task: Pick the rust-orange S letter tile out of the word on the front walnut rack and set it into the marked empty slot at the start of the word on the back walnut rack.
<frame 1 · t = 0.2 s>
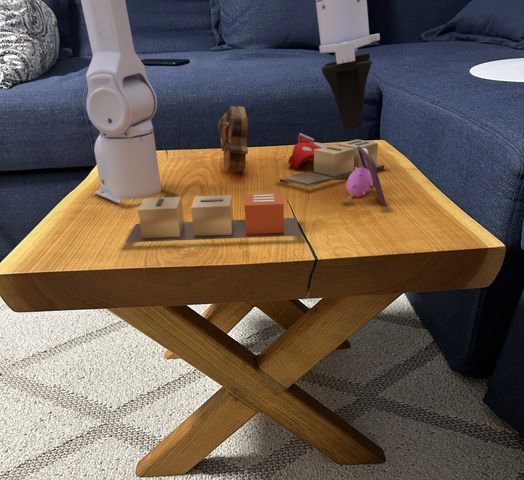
hand: (352, 122, 70), 10 cm above the table, tool pointing down, fingers open, 7 cm apart
wooden carving: (234, 172, 93), on the table
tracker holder: (315, 163, 96), on the table
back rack: (333, 176, 88), on the table
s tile: (264, 227, 66), point 1 cm above the table, touching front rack
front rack: (214, 235, 67), on the table
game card: (362, 203, 76), on the table
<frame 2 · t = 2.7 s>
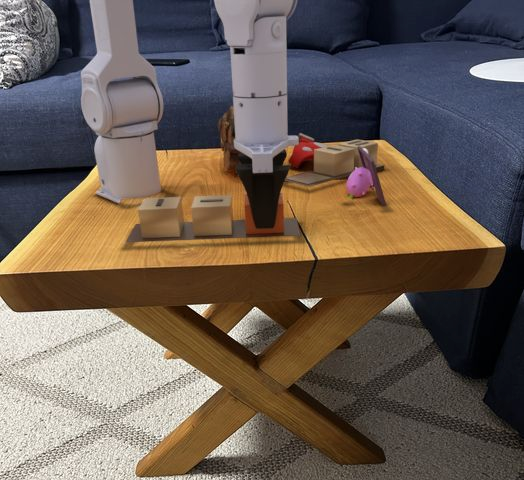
hand: (264, 220, 66), 2 cm above the table, tool pointing down, fingers closed on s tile, 4 cm apart
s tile: (264, 227, 66), point 1 cm above the table, touching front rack, gripper
everything else where it was.
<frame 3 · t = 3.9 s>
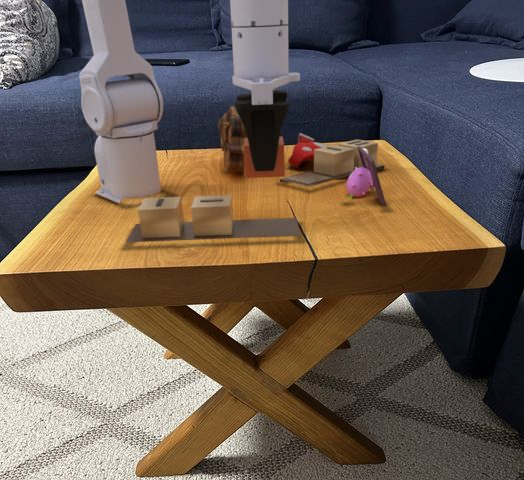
hand: (264, 165, 63), 8 cm above the table, tool pointing down, fingers closed on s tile, 4 cm apart
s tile: (264, 172, 64), point 7 cm above the table, touching gripper
everything else where it was.
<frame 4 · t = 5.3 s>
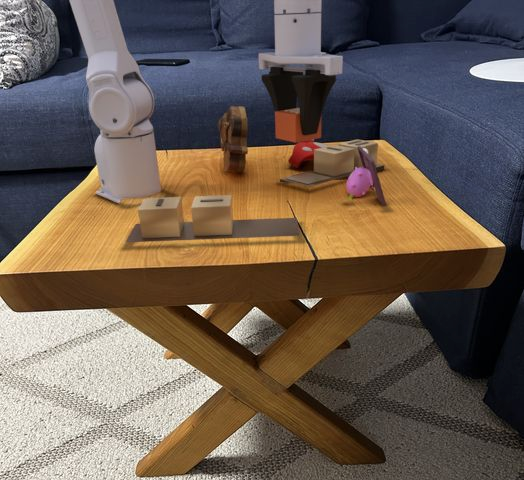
hand: (298, 131, 75), 9 cm above the table, tool pointing down, fingers closed on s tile, 4 cm apart
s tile: (298, 138, 76), point 8 cm above the table, touching gripper
everything else where it was.
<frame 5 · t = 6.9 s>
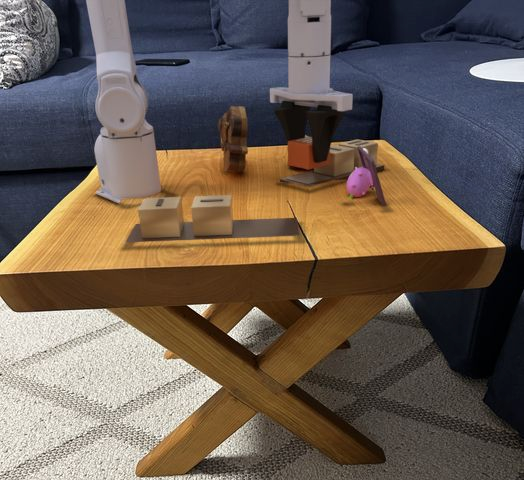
hand: (308, 159, 83), 4 cm above the table, tool pointing down, fingers closed on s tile, 4 cm apart
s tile: (308, 164, 83), point 3 cm above the table, touching gripper
everything else where it was.
when the fingers open (2 cm above the table, at t = 8.0 s): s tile stays where it is, resting on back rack.
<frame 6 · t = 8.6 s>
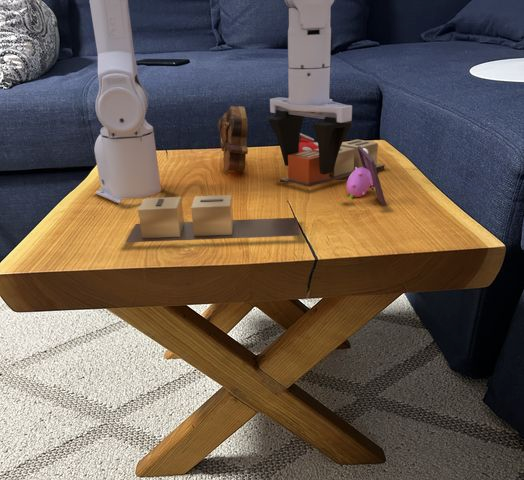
hand: (308, 168, 83), 2 cm above the table, tool pointing down, fingers open, 7 cm apart
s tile: (308, 177, 84), point 1 cm above the table, touching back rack
everything else where it was.
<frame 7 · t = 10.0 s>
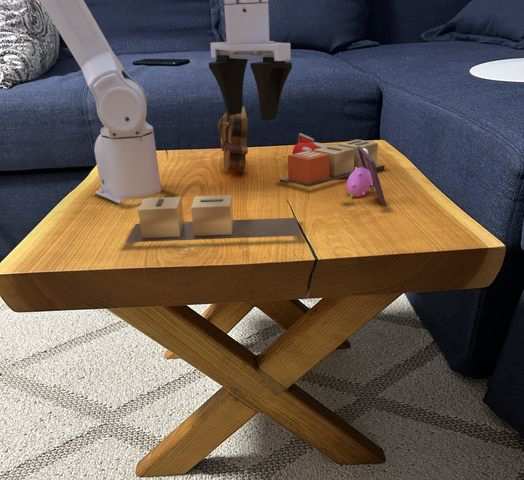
hand: (251, 116, 79), 10 cm above the table, tool pointing down, fingers open, 7 cm apart
nothing on the table moved.
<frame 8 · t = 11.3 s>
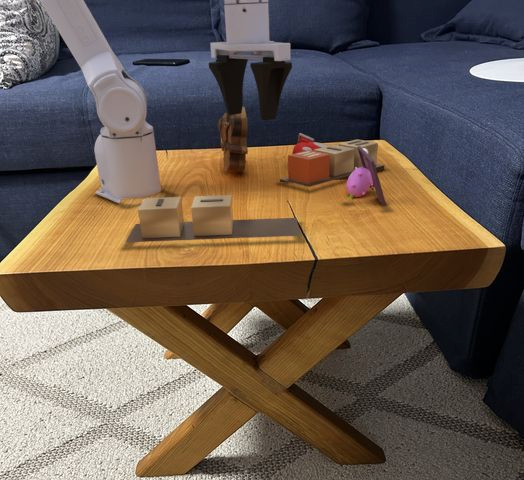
hand: (251, 116, 79), 10 cm above the table, tool pointing down, fingers open, 7 cm apart
nothing on the table moved.
at the end: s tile 0.0 cm from the target spot on the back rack, point 0.9 cm above the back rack's base; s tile tilted 0°; the gripper is holding nothing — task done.
